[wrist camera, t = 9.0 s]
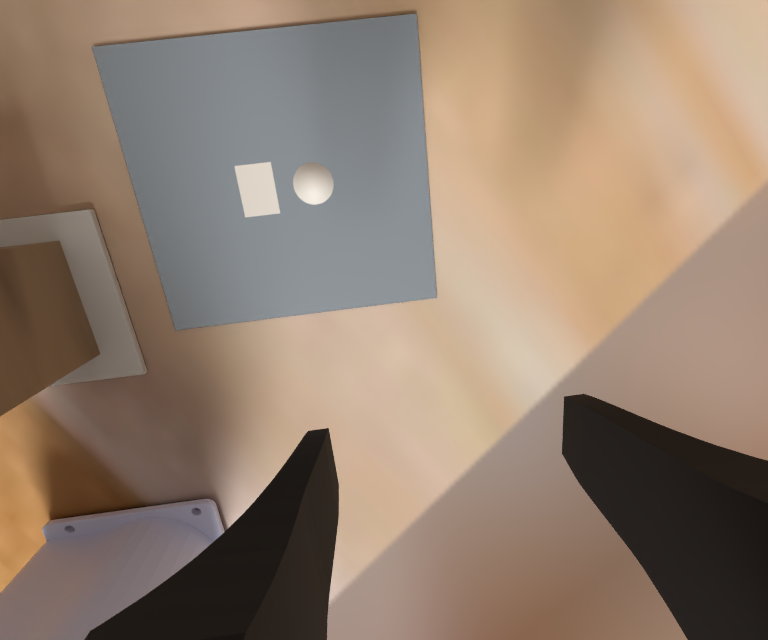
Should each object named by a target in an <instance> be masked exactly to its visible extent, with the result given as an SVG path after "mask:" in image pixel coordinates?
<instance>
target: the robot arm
mask: <svg viewBox="0 0 768 640" xmlns="http://www.w3.org/2000/svg"><path fill="white" fill-rule="evenodd" d="M562 454H563V456H564V457H565V459H566V461H567V463H568V465H569V466H570V468H571V470H572V472H573V473H574V475H575V477H576V479H577V480H578V482H579V483H580V485H581V486H582V488H583V489H584V490H585V492H586V493H587V494H588V496H589V497H590V498H591V499H592V501H593V502H594V503H595V505H596V506H597V507H598V509H599V510H600V511H601V513H602V514H603V515H604V516H605V518H606V519H607V520H608V522H609V523H610V524H611V525H612V527H613V528H614V529H615V531H616V532H617V533H618V535H619V536H620V537H621V538H622V540H623V541H624V542H625V544H626V545H627V546H628V547H629V549H630V550H631V551H632V553H633V554H634V556H635V557H636V558H637V560H638V561H639V563H640V564H641V565H642V567H643V568H644V570H645V571H646V573H647V574H648V576H649V577H650V579H651V581H652V582H653V584H654V585H655V587H656V589H657V590H658V592H659V593H660V595H661V596H662V598H663V600H664V601H665V603H666V604H667V606H668V607H669V609H670V611H671V612H672V614H673V616H674V617H675V619H676V621H677V622H678V624H679V626H680V627H681V629H682V631H683V632H684V634H685V636H686V637H687V639H688V640H768V461H767V460H763V459H759V458H755V457H752V456H749V455H745V454H742V453H739V452H736V451H733V450H729V449H726V448H723V447H719V446H716V445H713V444H711V443H708V442H705V441H702V440H699V439H697V438H694V437H691V436H688V435H686V434H683V433H680V432H677V431H675V430H672V429H670V428H667V427H665V426H662V425H660V424H657V423H655V422H652V421H650V420H647V419H645V418H643V417H640V416H638V415H636V414H633V413H631V412H628V411H626V410H624V409H621V408H619V407H616V406H614V405H612V404H609V403H607V402H605V401H602V400H599V399H597V398H594V397H592V396H589V395H585V394H581V395H573V396H566V397H564V416H563V443H562ZM195 508H198V509H200V510H197V509H195ZM338 514H339V484H338V478H337V473H336V467H335V461H334V456H333V450H332V445H331V439H330V434H329V428H327V429H320V430H312V431H308V432H307V433H306V434H305V436H304V437H303V439H302V440H301V442H300V443H299V444H298V446H297V447H296V449H295V450H294V452H293V453H292V455H291V456H290V457H289V459H288V460H287V462H286V463H285V464H284V466H283V467H282V468H281V470H280V471H279V472H278V474H277V475H276V476H275V478H274V479H273V480H272V481H271V483H270V484H269V485H268V486H267V487H266V489H265V490H264V491H263V492H262V493H261V495H260V496H259V497H258V498H257V499H256V501H255V502H254V503H253V504H252V505H251V506H250V507H249V508H248V509H247V510H246V511H245V513H244V514H243V515H242V516H241V517H240V518H239V519H238V520H237V521H236V522H234V523H233V524H232V525H231V526H230V527H229V528H228V529H227V530H226V531H225V532H224V528H223V525H222V522H221V518H220V515H219V512H218V509H217V505H216V503H215V502H214V501H213V500H211V499H200V500H193V501H186V502H178V503H171V504H164V505H157V506H149V507H142V508H135V509H128V510H121V511H113V512H106V513H99V514H92V515H84V516H77V517H70V518H63V519H56V520H51V521H49V522H48V523H47V524H46V525H45V526H44V527H43V529H42V531H43V534H44V536H45V538H46V540H47V542H46V543H45V544H44V545H43V546H42V547H41V548H40V549H39V551H38V552H37V553H36V554H35V555H34V556H33V557H32V558H31V560H30V561H29V562H28V563H27V564H26V565H25V566H24V567H23V568H22V570H21V571H20V572H19V573H18V574H17V575H16V576H15V577H14V579H13V580H12V581H11V582H10V583H9V584H8V585H7V586H6V587H5V589H4V590H3V591H2V592H1V593H0V640H327V614H328V602H329V592H330V584H331V576H332V567H333V559H334V551H335V543H336V534H337V526H338Z"/></svg>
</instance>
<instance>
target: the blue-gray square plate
mask: <svg viewBox="0 0 768 640" xmlns="http://www.w3.org/2000/svg"><path fill="white" fill-rule="evenodd" d="M92 49H93V53H94V56H95V60H96V63H97V66H98V70H99V73H100V76H101V80H102V83H103V87H104V90H105V93H106V97H107V100H108V104H109V107H110V110H111V114H112V117H113V121H114V124H115V127H116V131H117V134H118V137H119V141H120V144H121V148H122V151H123V154H124V158H125V161H126V165H127V168H128V171H129V175H130V178H131V182H132V185H133V188H134V192H135V195H136V198H137V202H138V205H139V209H140V212H141V215H142V219H143V222H144V226H145V229H146V232H147V236H148V239H149V243H150V246H151V249H152V253H153V256H154V259H155V263H156V266H157V270H158V273H159V276H160V280H161V283H162V287H163V290H164V293H165V297H166V300H167V304H168V307H169V310H170V314H171V317H172V320H173V324H174V327H175V331H176V330H184V329H192V328H200V327H208V326H216V325H224V324H232V323H240V322H248V321H256V320H264V319H272V318H280V317H288V316H296V315H304V314H312V313H320V312H328V311H336V310H344V309H352V308H360V307H368V306H376V305H384V304H392V303H400V302H407V301H415V300H423V299H431V298H437V295H436V281H435V267H434V252H433V238H432V224H431V210H430V196H429V182H428V167H427V153H426V139H425V125H424V111H423V97H422V82H421V68H420V54H419V40H418V26H417V13H416V14H406V15H397V16H387V17H377V18H367V19H358V20H348V21H338V22H328V23H319V24H309V25H299V26H290V27H280V28H270V29H260V30H251V31H241V32H231V33H221V34H212V35H202V36H192V37H182V38H173V39H163V40H153V41H143V42H134V43H124V44H114V45H105V46H95V47H92Z"/></svg>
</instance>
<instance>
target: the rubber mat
mask: <svg viewBox="0 0 768 640" xmlns="http://www.w3.org/2000/svg"><path fill="white" fill-rule="evenodd" d="M51 241H60V244H61V246H62V249H63V252H64V255H65V257H66V260H67V263H68V266H69V268H70V271H71V274H72V277H73V279H74V282H75V285H76V288H77V290H78V293H79V296H80V299H81V302H82V304H83V307H84V310H85V313H86V315H87V318H88V321H89V324H90V326H91V329H92V332H93V335H94V337H95V340H96V343H97V346H98V349H99V351H100V355H98V356H96V357H95V358H93V359H92V360H90V361H88V362H87V363H85V364H84V365H82V366H80V367H79V368H77V369H75V370H74V371H72V372H71V373H69V374H67V375H66V376H64V377H63V378H61V379H59V380H58V381H56V382H55V383H53V384H51V385H50V386H57V385H65V384H72V383H80V382H88V381H96V380H104V379H111V378H119V377H127V376H135V375H143V374H145V373H147V368H146V365H145V362H144V359H143V356H142V353H141V350H140V347H139V344H138V341H137V338H136V335H135V332H134V329H133V326H132V323H131V320H130V317H129V314H128V311H127V308H126V305H125V302H124V299H123V296H122V293H121V290H120V287H119V284H118V281H117V278H116V275H115V272H114V269H113V266H112V263H111V260H110V257H109V253H108V250H107V247H106V244H105V241H104V238H103V235H102V232H101V229H100V226H99V223H98V220H97V217H96V214H95V211H94V209H89V210H80V211H71V212H62V213H54V214H45V215H36V216H28V217H19V218H10V219H2V220H0V247H7V246H16V245H25V244H34V243H43V242H51ZM48 387H49V386H48Z"/></svg>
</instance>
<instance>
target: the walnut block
mask: <svg viewBox="0 0 768 640" xmlns="http://www.w3.org/2000/svg"><path fill="white" fill-rule="evenodd" d="M98 355H100V351H99V349H98V346H97V343H96V340H95V337H94V335H93V332H92V329H91V326H90V324H89V321H88V318H87V315H86V313H85V310H84V307H83V304H82V302H81V299H80V296H79V293H78V290H77V288H76V285H75V282H74V279H73V277H72V274H71V271H70V268H69V266H68V263H67V260H66V257H65V255H64V252H63V249H62V246H61V244H60V241H51V242H43V243H34V244H25V245H16V246H7V247H0V416H1V415H3V414H5V413H6V412H8V411H9V410H11V409H13V408H14V407H16V406H17V405H19V404H21V403H22V402H24V401H25V400H27V399H29V398H30V397H32V396H34V395H35V394H37V393H38V392H40V391H42V390H43V389H45V388H46V387H48V386H50V385H51V384H53V383H55V382H56V381H58V380H59V379H61V378H63V377H64V376H66V375H67V374H69V373H71V372H72V371H74V370H75V369H77V368H79V367H80V366H82V365H84V364H85V363H87V362H88V361H90V360H92V359H93V358H95V357H96V356H98Z"/></svg>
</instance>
